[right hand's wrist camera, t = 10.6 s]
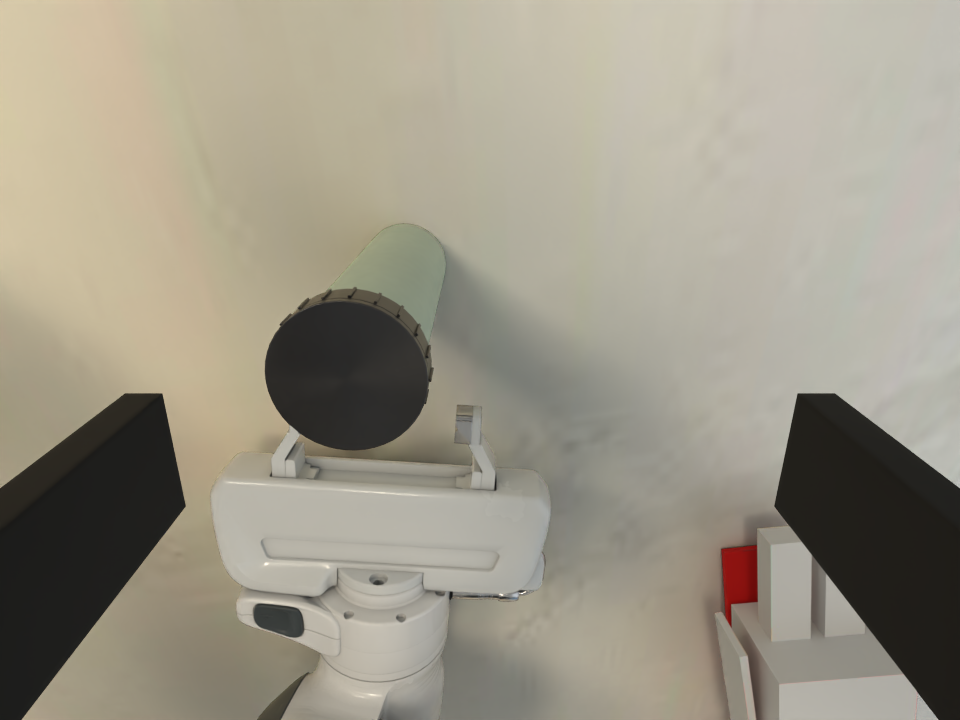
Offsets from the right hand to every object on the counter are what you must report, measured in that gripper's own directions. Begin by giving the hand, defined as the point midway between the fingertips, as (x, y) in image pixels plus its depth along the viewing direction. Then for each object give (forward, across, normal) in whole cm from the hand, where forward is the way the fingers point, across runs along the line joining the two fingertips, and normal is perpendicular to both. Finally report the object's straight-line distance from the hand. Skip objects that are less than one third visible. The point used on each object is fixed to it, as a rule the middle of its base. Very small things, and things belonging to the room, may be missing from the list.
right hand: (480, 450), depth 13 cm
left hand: (+20, +5, +9) cm, 23 cm away
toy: (+27, -24, +34) cm, 50 cm away
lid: (+9, +5, +2) cm, 10 cm away
